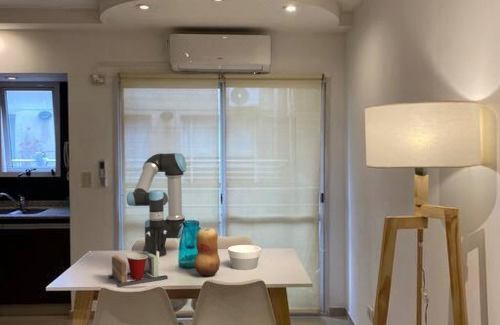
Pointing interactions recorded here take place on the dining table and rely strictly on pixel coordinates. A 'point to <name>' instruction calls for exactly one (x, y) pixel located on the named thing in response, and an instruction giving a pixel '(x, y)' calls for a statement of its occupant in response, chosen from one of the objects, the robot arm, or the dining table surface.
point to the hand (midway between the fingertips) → (157, 263)
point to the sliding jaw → (151, 264)
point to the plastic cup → (136, 265)
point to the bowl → (244, 256)
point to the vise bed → (127, 274)
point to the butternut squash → (207, 252)
